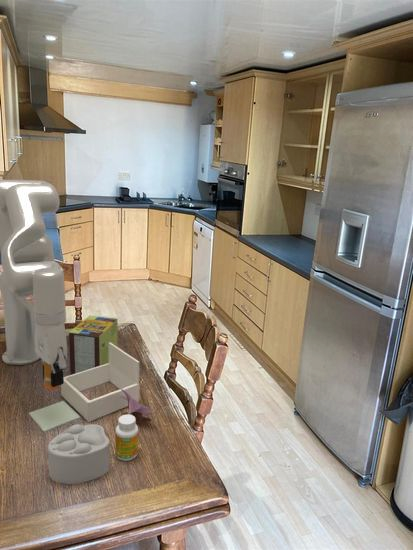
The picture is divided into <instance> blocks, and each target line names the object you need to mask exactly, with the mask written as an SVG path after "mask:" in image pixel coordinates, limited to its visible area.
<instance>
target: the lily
mask: <svg viewBox="0 0 413 550" xmlns="http://www.w3.org/2000/svg"><path fill="white" fill-rule="evenodd" d="M119 388H120V387H119ZM119 388H118V389H119ZM120 389H121V388H120ZM120 389H119V390H120ZM121 390H122V391H123V392H124V394H125V396H126V398H127V399H126V398H125V397H123V396H120V397H122V398H123V399H125V400H126V401H127V402H128V406H127V407H128V413H127V414H129V415H131V413H141V414H143V415H145V416H146V417H147V418H148V419H150V420H152V417H150V415H149V414H147V413H150V414H151V413H152V414H153V415H155V414H156V413H155V412H154V411H152V410H151V408H149V407H147V406H146V405H143V404H141V403H140V399H139V401H138V400H137V401H138V402H137V401H136V400H135V399H132V397H131V396H130V395H129V394H128V393H127V392H126V391H124V390H123V389H121Z"/></svg>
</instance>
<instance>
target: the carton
mask: <svg viewBox="0 0 413 550" xmlns="http://www.w3.org/2000/svg"><path fill="white" fill-rule="evenodd" d="M108 350H109V363H107V364H104V365H101V366H98V367H95V368H92V369H89V370H85V371H82V372H79V373H76V374H73V375H70V374H69V375H66V376H64V383H63V384H61V386H60V390H61V392H60V393H61V397H62V398H63V399H64V400H66V402H68V403H69V405H70V406H71V407H73V409H75V410H76V411H77V412H78V413H79V414H80V415H81V416H82V417H83V418H84V419H85V421H87V422H88V423H89V422H92V421H95V420H98V419H100V418H102V417H105V416H106V415H109V414H112V413H114V412H117V411H120V410H123V409H124V408H127V407H129V406H128V402H127V401H126V400H125V399H123V398H122V397H120V396H123V397H125V398H126V396H125V394H124V392H123V391H122V390H121V389H123V390H124V391H126V392H127V393H128V394H129V395H130V396H131V397H132V399H135V400H136V401H137V400H138V401H139V400H140V385H141V384H140V361H139V360H137V359H136V358H135V357H133V356H131V355H130V354H128V353H127V352H125V351H124V350H123V349H121V348H120V347H116V346H115V345H113V344H112V343H108ZM108 382H110V383H111V384H112V385H114V386H115V387H116V388H118V389H117V390H115V391H112V392H108V393H106V394H104V395H100V396H99V397H96V398H93V399H91V400H90V399H88V398H87V397H86V396H85V395H84V394H83V393H82V391H85V390H88V389H91V388H93V387H97V386H99V385H102V384H104V383H108ZM119 387H120V388H121V389H120V388H119ZM126 399H127V398H126ZM138 401H137V402H138ZM139 402H140V401H139Z"/></svg>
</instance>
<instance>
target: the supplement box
mask: <svg viewBox="0 0 413 550" xmlns="http://www.w3.org/2000/svg"><path fill="white" fill-rule="evenodd" d="M56 360H58V358H56ZM57 365H59V363H56V364H55V367H56V366H57ZM51 372H52V369H51V365H49V364H47V363H46V362H45V361H44V379H43V380H44V389H46V390H50V391H56V390H58V388H61V385H58V386H55V387H52V386H51Z"/></svg>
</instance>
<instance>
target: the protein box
mask: <svg viewBox="0 0 413 550" xmlns="http://www.w3.org/2000/svg"><path fill="white" fill-rule="evenodd" d="M118 321H119V319H118V318H114V317H112V318H111V317H106V316H105V317H103V316H99V315H98V316H97V315H88V316H87V317H86V318H84V320H82V321H80V322H79V323H78V324H77V325H76V326H74V327H73V328H72V329H71V330H70V331H69V332H68V342H69V343H68V346H69V349H68V350H69V351H68V352H69V367H70V368H69V372H70V373H69V376H70V375H73V374H76V373H79V372H82V371H85V370H89V369H92V368H95V367H98V366H101V365H104V364H107V363H109V350H108V343H112V344H113V345H115V346H116V347H118V345H119V344H118V340H119V339H118V332H119V331H118V327H119V325H118ZM118 348H119V347H118Z"/></svg>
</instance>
